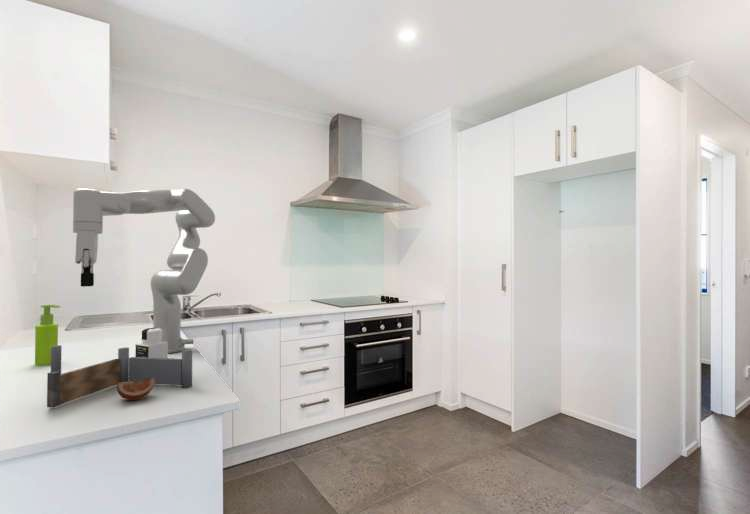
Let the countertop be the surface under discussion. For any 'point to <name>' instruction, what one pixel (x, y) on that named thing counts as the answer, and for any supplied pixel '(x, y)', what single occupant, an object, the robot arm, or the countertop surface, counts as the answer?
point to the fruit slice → (135, 388)
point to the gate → (81, 382)
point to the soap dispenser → (45, 337)
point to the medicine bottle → (152, 344)
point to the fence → (145, 367)
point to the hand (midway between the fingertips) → (87, 286)
